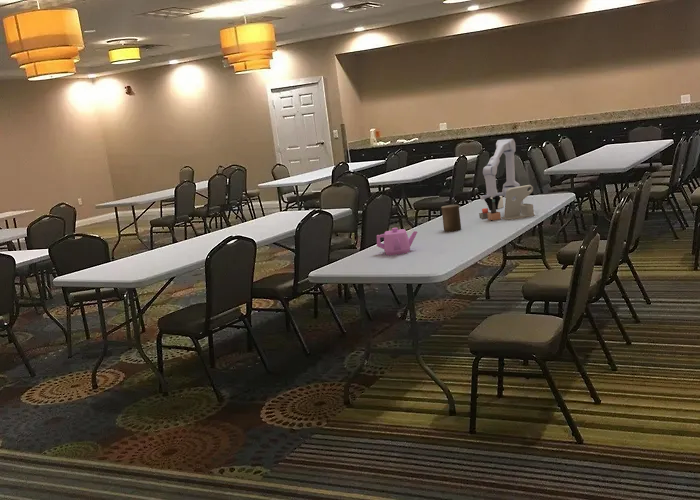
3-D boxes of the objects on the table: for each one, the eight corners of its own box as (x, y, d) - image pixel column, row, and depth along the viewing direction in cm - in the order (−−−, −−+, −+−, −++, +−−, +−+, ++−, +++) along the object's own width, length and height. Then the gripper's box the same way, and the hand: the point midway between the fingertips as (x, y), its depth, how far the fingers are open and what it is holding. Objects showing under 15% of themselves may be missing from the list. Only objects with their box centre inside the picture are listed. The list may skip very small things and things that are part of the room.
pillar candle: (460, 230, 399) (458, 203, 396) (443, 232, 401) (440, 205, 399) (461, 227, 408) (459, 201, 406) (444, 229, 411) (441, 203, 408)
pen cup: (496, 218, 424) (496, 211, 423) (500, 219, 419) (500, 212, 418) (488, 219, 423) (487, 212, 422) (491, 220, 418) (491, 213, 417)
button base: (488, 216, 434) (487, 211, 433) (492, 217, 428) (491, 212, 428) (479, 218, 433) (479, 213, 432) (483, 219, 427) (482, 214, 427)
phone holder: (527, 213, 425) (524, 183, 422) (536, 215, 416) (533, 184, 413) (500, 218, 421) (497, 188, 418) (508, 220, 412) (505, 189, 408)
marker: (497, 213, 419) (496, 199, 418) (492, 213, 418) (491, 200, 417) (494, 212, 422) (493, 199, 421) (489, 213, 421) (488, 199, 420)
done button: (486, 212, 432) (486, 208, 431) (489, 213, 429) (488, 208, 428) (481, 213, 431) (481, 208, 431) (483, 214, 428) (483, 209, 427)
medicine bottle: (493, 207, 468) (491, 188, 466) (503, 206, 463) (501, 188, 461) (488, 209, 462) (486, 190, 460) (499, 208, 458) (497, 190, 456)
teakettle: (396, 247, 376) (393, 224, 374) (421, 249, 364) (418, 224, 361) (373, 255, 365) (370, 231, 362) (398, 256, 352) (395, 231, 350)
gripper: (498, 184, 424) (500, 207, 426) (476, 188, 419) (479, 211, 421) (504, 184, 417) (507, 208, 419) (483, 188, 412) (485, 212, 415)
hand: (493, 209), depth 420 cm, fingers closed on marker, 3 cm apart
